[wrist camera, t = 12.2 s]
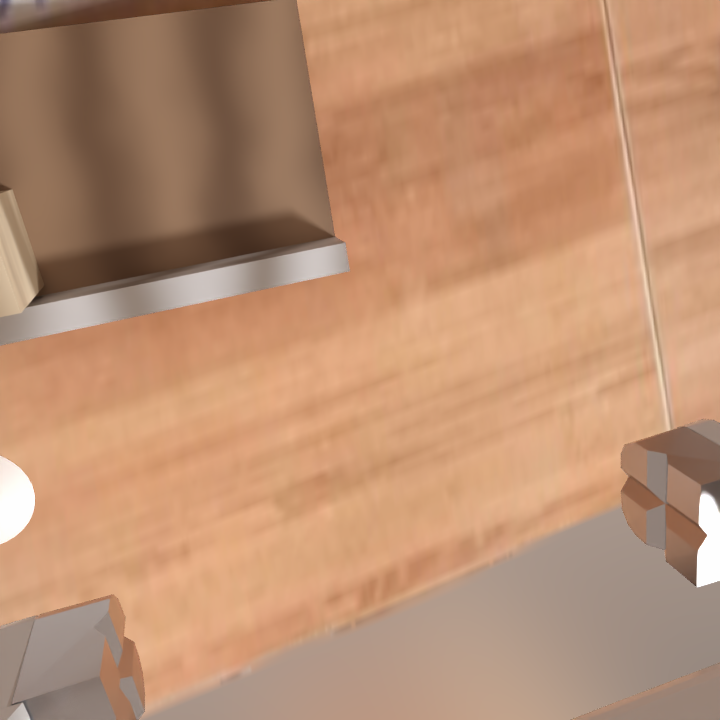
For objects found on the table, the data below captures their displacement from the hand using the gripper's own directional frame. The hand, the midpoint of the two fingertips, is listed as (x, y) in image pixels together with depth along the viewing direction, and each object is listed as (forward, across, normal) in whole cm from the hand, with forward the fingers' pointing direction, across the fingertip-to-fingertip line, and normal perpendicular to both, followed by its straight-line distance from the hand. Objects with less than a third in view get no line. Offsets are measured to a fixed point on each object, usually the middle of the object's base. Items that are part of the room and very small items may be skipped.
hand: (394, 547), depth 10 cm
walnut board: (+31, +5, -5) cm, 32 cm away
